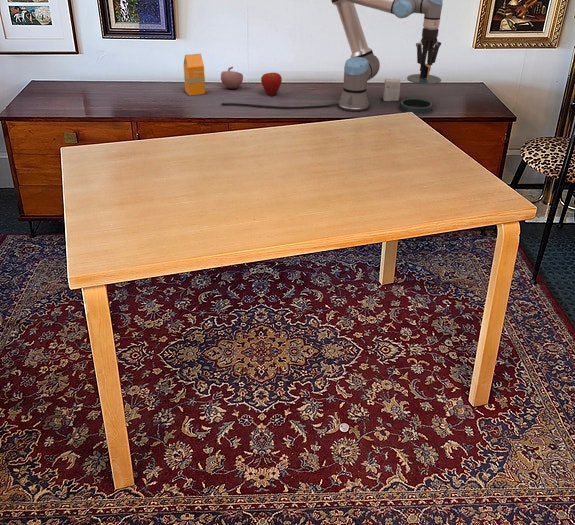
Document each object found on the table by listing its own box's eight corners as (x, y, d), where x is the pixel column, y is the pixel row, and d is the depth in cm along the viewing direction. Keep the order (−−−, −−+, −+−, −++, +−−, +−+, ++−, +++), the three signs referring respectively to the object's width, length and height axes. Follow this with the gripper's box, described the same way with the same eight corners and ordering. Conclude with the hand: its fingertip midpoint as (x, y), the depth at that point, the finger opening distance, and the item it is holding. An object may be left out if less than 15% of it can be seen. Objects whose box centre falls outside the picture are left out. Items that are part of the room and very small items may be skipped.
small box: (398, 98, 335) (400, 78, 330) (398, 102, 331) (401, 81, 325) (383, 98, 336) (384, 78, 331) (383, 101, 331) (385, 81, 326)
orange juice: (205, 93, 337) (203, 55, 327) (189, 95, 334) (187, 56, 324) (200, 89, 343) (198, 51, 333) (185, 91, 340) (182, 53, 330)
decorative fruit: (244, 85, 351) (244, 64, 345) (241, 92, 341) (240, 70, 335) (223, 84, 352) (222, 63, 346) (219, 91, 342) (218, 69, 336)
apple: (269, 90, 344) (269, 68, 338) (285, 94, 339) (286, 71, 333) (257, 95, 336) (256, 72, 330) (273, 99, 331) (273, 75, 325)
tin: (410, 115, 312) (411, 109, 310) (394, 106, 324) (394, 100, 322) (437, 112, 317) (438, 106, 315) (420, 103, 329) (421, 97, 328)
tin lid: (418, 87, 304) (420, 69, 300) (400, 77, 317) (402, 61, 313) (447, 83, 310) (450, 66, 305) (428, 75, 323) (430, 58, 318)
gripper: (422, 30, 295) (415, 81, 307) (448, 28, 300) (440, 78, 312) (413, 27, 301) (407, 77, 313) (439, 25, 306) (432, 74, 318)
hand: (424, 77), depth 313 cm, fingers closed on tin lid
